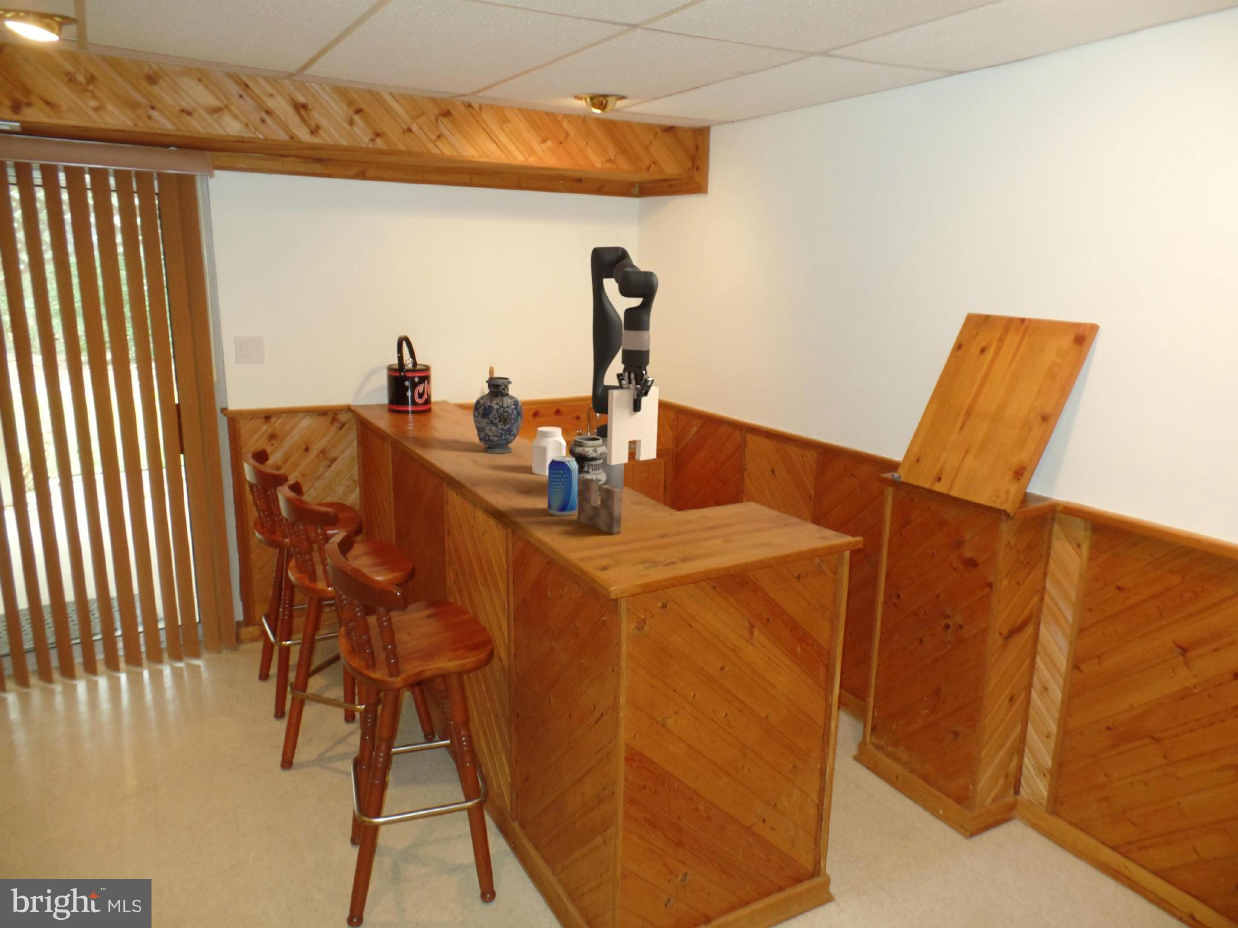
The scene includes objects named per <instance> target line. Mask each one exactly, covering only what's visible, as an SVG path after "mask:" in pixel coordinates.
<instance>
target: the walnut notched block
mask: <svg viewBox="0 0 1238 928" xmlns="http://www.w3.org/2000/svg"><path fill="white" fill-rule="evenodd" d="M599 492H600V497H598V496H599ZM599 498H600V499H599ZM622 504H623V490H621V489H618V488H615V487H612V486H610V485H605V486H601V491H599V482H598V481H595V480H592V479H589V478H586V477H585V478H579V479H578V498H577V518H576V519H577V521H578V522H581V523H583V524H585V525H587V526H590V527H592V526H593V528H595V529H597V528H598V529H597V530H600V529H601V530H600V531H602V530H603V531H602V532H605V531H606V532H605V533H607V532H609V533H608V534H610V535H612V534H613V535H612V536H615V535H614V534H616V535H620V534H619V533H621V534H622V532H621V531H622V512H623V511H622Z"/></svg>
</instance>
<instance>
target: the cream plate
mask: <svg viewBox="0 0 1238 928" xmlns="http://www.w3.org/2000/svg"><path fill="white" fill-rule="evenodd" d="M659 388H660V387H658V386H653V385H652V386H651V389H650V391H649V393H648V395H647V397H643V398H642V400H641V411H640V412H633V399H634V396H633V390H632V388H629V389H616V390H609V399H608V414H607V423H608V437H607V464H610V465H615V464H621V463H624V464H627V463H629V462H628V461H629V442H630V441H632V442H633V441H636V445H635V460H637V461H646V460H653V459H657V444H658V443H657V440H658V439H657V438H658V417H659V416H658V415H659V413H658V412H659V393H660V392H659V391H660V390H659ZM638 393H639V390H638Z"/></svg>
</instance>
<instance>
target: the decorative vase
mask: <svg viewBox="0 0 1238 928" xmlns="http://www.w3.org/2000/svg"><path fill="white" fill-rule="evenodd" d="M485 383H486V384H487V388H488V392H487V393H486V394H484V395H483V394H482V395H481V396H479V397H478V398H477V399H476V400H475V402H474V404H473V409H472V410H473V411H472V417H473V424H474V427H475V430H476V432H477V433H476V436H477V437H478V442H479V443H480V444H483V445H484V446H485V447H484V448H483V452H485V453H487V454H494V455H495V454H496V455H500V454H501V455H503V454H509V453H512V452H513V448H512V447H510V446H509V445H510V444H512V443H513V442H514V441H515V440H516V439H517V437H518V434H519V432H520V430H521V427H522V423H523V419H524V418H523V417H524V411H523V404H522V403H521V401H520V399H519V398H518V397H516V396H514V395H512V394H510V390H509V389H510V387H509V385H512V384H513V382H512V381H511V380H510V377H505V376H489V377H488V379H487V380H486V381H485Z"/></svg>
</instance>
